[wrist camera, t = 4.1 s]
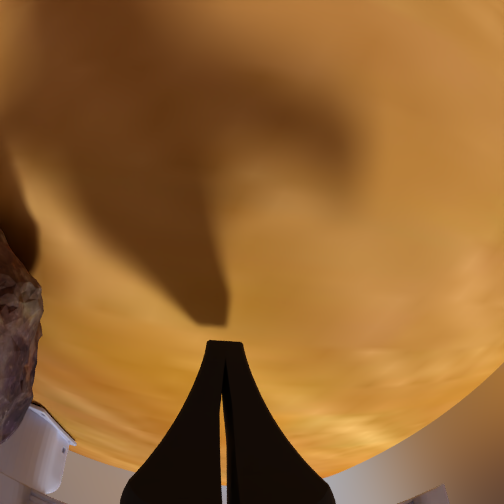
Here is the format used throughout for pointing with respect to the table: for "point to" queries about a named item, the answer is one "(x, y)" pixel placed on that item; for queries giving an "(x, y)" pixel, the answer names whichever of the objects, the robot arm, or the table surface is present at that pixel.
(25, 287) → the rock
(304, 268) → the table surface
